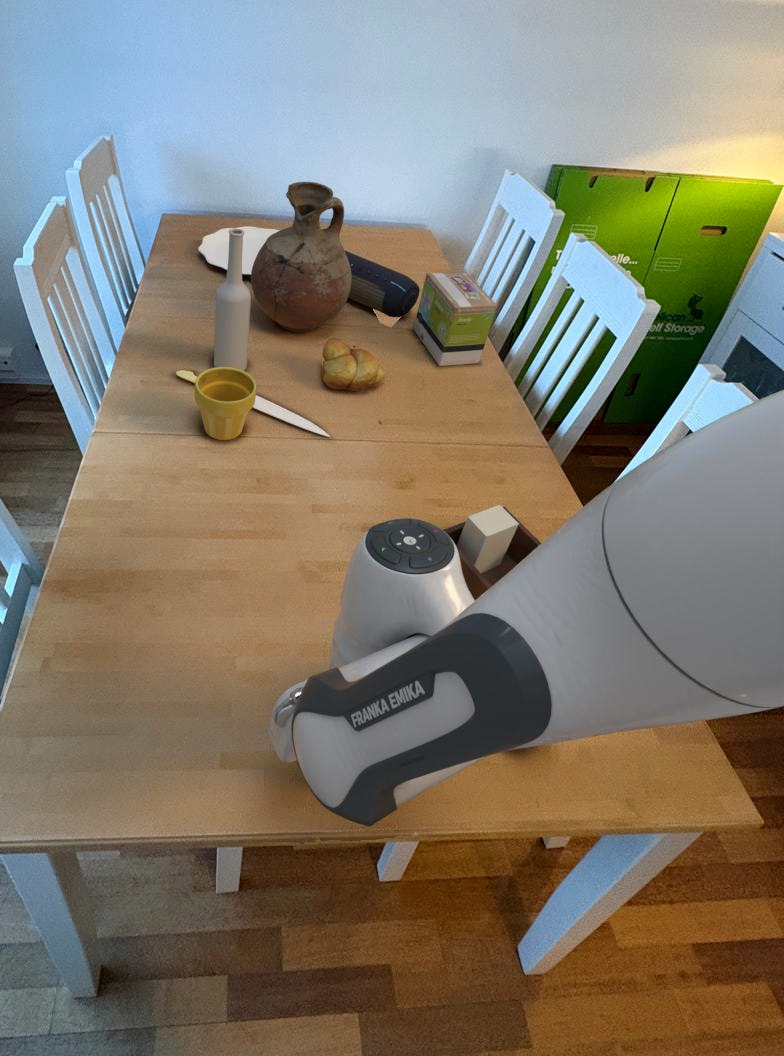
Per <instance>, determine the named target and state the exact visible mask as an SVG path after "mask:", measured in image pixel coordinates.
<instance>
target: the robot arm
mask: <svg viewBox="0 0 784 1056" xmlns="http://www.w3.org/2000/svg"><path fill="white" fill-rule="evenodd" d="M443 530H444V529H442V528H440V527H439V526H437V525H435V524H433V523H430V522H428V521H425V520H421V519H417V518H407V517H405V518H395V519H391V520H387V521H383V522H380V523H377V524H375V525H373V526H371V527H370V528H369V529H367V530H366V531H365V532H364V534H363V535H362V536H361V538H360V539H359V540H358V542H357V544H356V545H355V547H354V549H353V551H352V554H351V556H350V559H349V562H348V565H347V567H346V568H347V569H346V571H345V576H344V579H343V583H342V588H341V593H340V601H339V607H340V611H339V612H338V615H337V616H336V619H335V622H334V627H333V631H332V637H331V642H330V646H329V651H328V656H327V668H328V669H327V670H325V671H322V672H318V673H317V674H314V675H311V676H309V677H308V678H307V679H304V680H303V681H301V682H298V683H296V684H294V685H292V686H290V687H289V688H288V689H286V690H285V691H284V692H282V693H281V695H280V696H279V697H278V699H277V701H276V703H275V704H274V707H273V710H272V712H271V715H270V717H269V722H268V725H267V736H268V738H269V740H270V743H271V745H272V747H273V749H274V751H275V753H276V755H277V757H278V758H279V760H280V761H281V762H283V763H287V764H290V763H294V762H297V765H298V767H299V769H300V772H301V775H302V777H303V779H304V781H305V783H306V785H307V787H308V788H309V790H310V791H311V793H312V795H313V796H314V797H315V799H316V800H317V802H319V803H320V804H321V806H323V807H324V808H325V809H326V810H328V811H329V812H331V813H333V814H335V815H336V816H338V817H340V818H342V819H345V820H347V821H350V822H352V823H356V824H358V825H362V826H366V827H372V826H373V825H375V824H377V823H378V822H380V821H381V820H383V819H384V818H386V817H388V816H389V815H391V814H392V813H393V812H395V811H397V810H398V807H400V806H402V805H403V804H405V803H407V802H409V801H410V800H412V799H415V798H416V797H417V796H420V795H421V794H423V793H425V792H426V791H428V790H430V789H431V788H434V787H435V786H437V785H439V784H441V783H443V782H444V781H446V780H448V779H450V778H451V777H453V776H455V775H457V774H459V773H461V772H463V771H464V770H466V769H468V768H469V767H471V766H473V765H474V764H477V763H479V762H481V761H483V760H484V759H486V758H488V757H490V756H492V755H495V754H499V753H502V752H509V751H513V750H519V749H527V748H533V747H539V746H545V745H546V746H547V745H552V744H558V743H565V742H570V741H577V740H582V739H587V738H592V737H599V736H600V737H601V736H605V735H612V734H619V733H624V732H632V731H639V730H647V729H654V728H655V729H656V728H662V727H663V728H664V727H671V726H678V725H683V724H684V725H685V724H692V723H697V722H698V723H699V722H704V721H710V720H717V719H723V718H724V719H725V718H731V717H736V716H741V715H747V714H754V713H759V712H763V711H768V710H769V711H770V710H772V709H777V708H781V707H784V389H781V390H780V391H777V392H775V393H772V394H770V395H767V396H764V397H762V398H760V399H758V400H755V401H753V402H752V403H749V404H747V405H744V406H743V407H741V408H738V409H736V410H735V411H732V412H730V413H728V414H726V415H723V416H721V417H720V418H717V419H715V420H714V421H712V422H710V423H708V424H706V425H704V426H702V427H700V428H698V429H697V430H695V431H693V432H691V433H689V434H688V435H687V434H686V435H685V436H683V437H682V438H680V439H678V440H677V441H675V442H673V443H671V444H670V445H668V446H666V447H665V448H663V449H661V450H659V451H658V452H656V453H655V454H653V455H651V456H650V457H649V458H647V459H645V460H644V461H642V462H641V463H640V464H638V465H637V466H635V467H634V468H633V469H631V470H630V471H628V472H627V473H626V474H624V475H622V476H621V477H620V478H618V479H617V480H615V481H614V482H612V483H611V484H609V486H607V487H606V488H604V489H603V490H602V491H601V492H600V493H598V494H597V495H596V496H594V497H593V498H592V499H591V500H590V501H588V502H586V504H585V505H584V506H583V507H581V508H580V509H579V510H578V511H576V512H575V513H574V514H573V515H572V516H570V517H569V518H568V519H567V520H566V521H564V523H562V524H561V525H560V526H559V527H558V528H557V529H556V530H554V531H553V532H552V533H551V534H550V535H549V536H548V537H547V538H545V540H543V541H542V542H540V543H541V544H540V545H539V546H538V547H537V548H536V549H535V550H533V551H532V552H531V553H530V554H529V555H528V556H527V557H526V558H525V559H523V560H522V561H521V562H520V563H519V564H518V565H517V566H515V567H514V568H513V569H512V570H511V571H510V572H508V573H507V574H506V575H505V576H504V577H503V578H501V579H500V580H499V581H498V582H497V583H495V584H494V585H493V586H492V587H491V588H489V589H488V590H487V591H486V592H485V593H483V594H482V595H481V596H480V597H479V598H477V599H476V600H474V598H473V597H472V595H471V593H470V591H469V589H468V587H467V585H466V582H465V580H464V576H463V573H462V568H461V562H460V556H459V553H458V550H457V547H456V545H455V543H454V542H453V540H452V539H451V538H450V537H449V535H448V534H447V533H446V532H444V531H443Z"/></svg>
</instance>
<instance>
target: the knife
mask: <svg viewBox="0 0 784 1056" xmlns="http://www.w3.org/2000/svg"><path fill="white" fill-rule="evenodd" d="M175 375H176V376H177V377H179V378H181V379H183V380H186V381H188V382H191V383H193V384H195V381H196V379H197V377H198V376H197V375H195V373H194V372H193V371H190V370H184V369H180V370H177V371H176V372H175ZM252 409H255V410H257V411H260V412H261V413H264V414H266V415H269V416H272V417H274V418H276V419H279V420H281V421H284V422H286V423H288V424H291V425H294V426H296V427H299V428H301V429H303V430H307V431H310V432H312V433H315V434H318V435H321V436H325V437H328V438H331V435H329V434H328V433H327V432H326V431H325V430H323V428H321V427H320V426H318V425H316V424H315V423H313V422H311V421H310V420H308V419H306V418H304V417H303V416H301V415H299V414H296V413H295V412H293V411H291V410H288V409H286V408H285V407H283V406H280V405H278V404H276V403H274V402H272V401H270V400H268V399H266V398H263V397H261V396H259V395H257V394H256V398H255V403H254V406H253V407H252Z"/></svg>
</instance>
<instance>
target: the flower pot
mask: <svg viewBox="0 0 784 1056" xmlns="http://www.w3.org/2000/svg"><path fill="white" fill-rule="evenodd" d="M256 395H257V382H256V380H255V378H254V377H253V376H252V375H251V374H249V373H248V372H246V371H245V370H244V371H242V370H240V369H237V368H232V367H215V366H214V367H211V368H209V369H208V368H207V369H206V370H204V371H202V372H201V373H199V375H198V376H197V379H196V381H195V383H194V402H195V403H196V406H197V407H198V408H199V410H200V415H201V419H202V425H203V428H204V431H205V433H206V434H207V435H208V436H209V437H211V438H212V439H215V440H219V441H230V440H233V439H236V438H237V437H239V436H240V435H241V434H242V431H243V429H244V427H245V423H246V420H247V417H248V414H249V412H250V411H251V410H252V409H253V408H252V407H253V406H254V403H255V398H256Z"/></svg>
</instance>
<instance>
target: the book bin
mask: <svg viewBox="0 0 784 1056" xmlns="http://www.w3.org/2000/svg"><path fill="white" fill-rule="evenodd" d="M502 507H503V508H504V509H505V510H506V511H507V512H508V513H509V514H510V515H511V516H512V517H513V518H514V519H515V520H516V521H517V522H518V523H519V525H518V527H517V529H516V531H515V533H514V536H513V538H512V540H511V542H510V544H509V547H508V549H507V551H506V553H505V555H504V558H503V560H502V562H501V564H500V565H499V566H497V567H494V568H492V569H490V570H487V571H485V572H483V573H480V572H479V571H478V570H477V569H476V567H475V566H474V565H473V564H472V563H471V562H470V561H469V559H468V558H467V557H466V556H465V555H464V554H463V553H462V552H461V550H460V549H459V548H458V547H457V544H458V541H459V538H460V536H461V533H462V531H463V528H464V525H465V523H466V520H465V521H463V522H460V523H458V524H454V525H452V526H449V527H447V528H445V529H442V530H443V531H444V532H446V533H447V534H448V535H449V537H450V538H451V539H452V540H453V542H454V543H455V545H456V547H457V550H458V553H459V556H460V562H461V568H462V573H463V576H464V580H465V582H466V585H467V587H468V589H469V591H470V593H471V595H472V597H473V598H474V600H476V599H477V598H479V597H480V596H481V595H482V594H483V593H485V592H486V591H487V590H488V589H489V588H491V587H492V586H493V585H494V584H495V583H497V582H498V581H499V580H500V579H501V578H503V577H504V576H505V575H506V574H507V573H508V572H510V571H511V570H512V569H513V568H514V567H515V566H517V565H518V564H519V563H520V562H521V561H522V560H523V559H525V558H526V557H527V556H528V555H529V554H530V553H531V552H532V551H533V550H535V549H536V548H537V547H538V546H539V545H540V544H541V543H542V542H540V540H539V539H538V538H537V537H536V536H535V535H534V534H533V533H532V532H531V531H530V530H529V529H528V528H527V527H525V526H524V524H523V523H522V522H521V521H520V520H519V519H518V518H516V516H514V515H513V514H512V512H511V511H510V510H508V508H507V507H505V506H502Z"/></svg>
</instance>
